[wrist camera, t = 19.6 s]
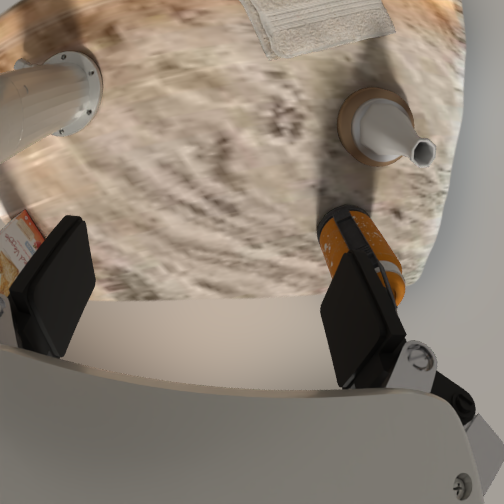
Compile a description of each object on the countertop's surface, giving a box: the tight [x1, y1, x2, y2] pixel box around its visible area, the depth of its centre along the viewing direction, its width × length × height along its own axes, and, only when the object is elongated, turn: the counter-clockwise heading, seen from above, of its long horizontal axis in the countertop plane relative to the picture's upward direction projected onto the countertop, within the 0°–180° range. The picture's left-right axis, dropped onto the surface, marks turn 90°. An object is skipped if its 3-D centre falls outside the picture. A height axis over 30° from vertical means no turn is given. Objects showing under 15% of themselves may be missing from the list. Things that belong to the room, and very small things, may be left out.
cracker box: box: [0, 210, 44, 297], centre depth 36 cm, size 14×6×21 cm, turn 20°
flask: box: [360, 103, 436, 167], centre depth 29 cm, size 7×7×10 cm
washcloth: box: [239, 0, 396, 60], centre depth 25 cm, size 12×18×3 cm, turn 113°
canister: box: [317, 205, 405, 315], centre depth 37 cm, size 9×11×20 cm
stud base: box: [337, 87, 414, 167], centre depth 34 cm, size 11×11×4 cm
